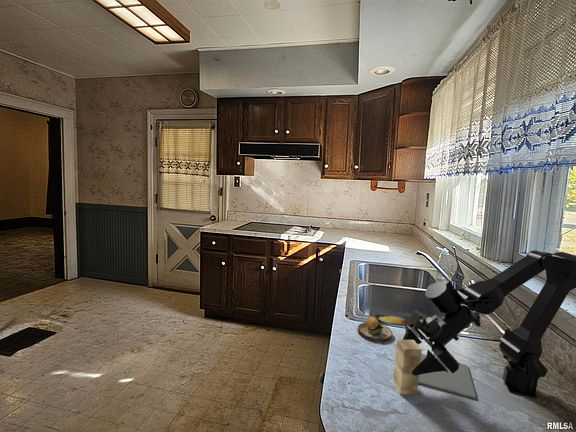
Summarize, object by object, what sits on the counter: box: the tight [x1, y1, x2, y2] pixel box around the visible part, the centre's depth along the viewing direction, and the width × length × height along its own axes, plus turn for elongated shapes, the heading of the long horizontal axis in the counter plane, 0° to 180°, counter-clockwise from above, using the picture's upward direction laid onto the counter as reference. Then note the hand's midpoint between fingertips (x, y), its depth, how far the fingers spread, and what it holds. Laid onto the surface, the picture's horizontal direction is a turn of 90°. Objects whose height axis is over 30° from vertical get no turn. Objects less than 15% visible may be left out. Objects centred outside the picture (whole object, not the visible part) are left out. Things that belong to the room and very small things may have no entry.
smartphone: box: [373, 313, 409, 327], centre depth 121 cm, size 7×1×15 cm
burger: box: [357, 316, 393, 343], centre depth 110 cm, size 12×12×8 cm
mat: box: [418, 353, 477, 400], centre depth 90 cm, size 18×15×1 cm
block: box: [392, 339, 423, 395], centre depth 82 cm, size 4×4×12 cm
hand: (404, 362), depth 81 cm, fingers open, 9 cm apart
